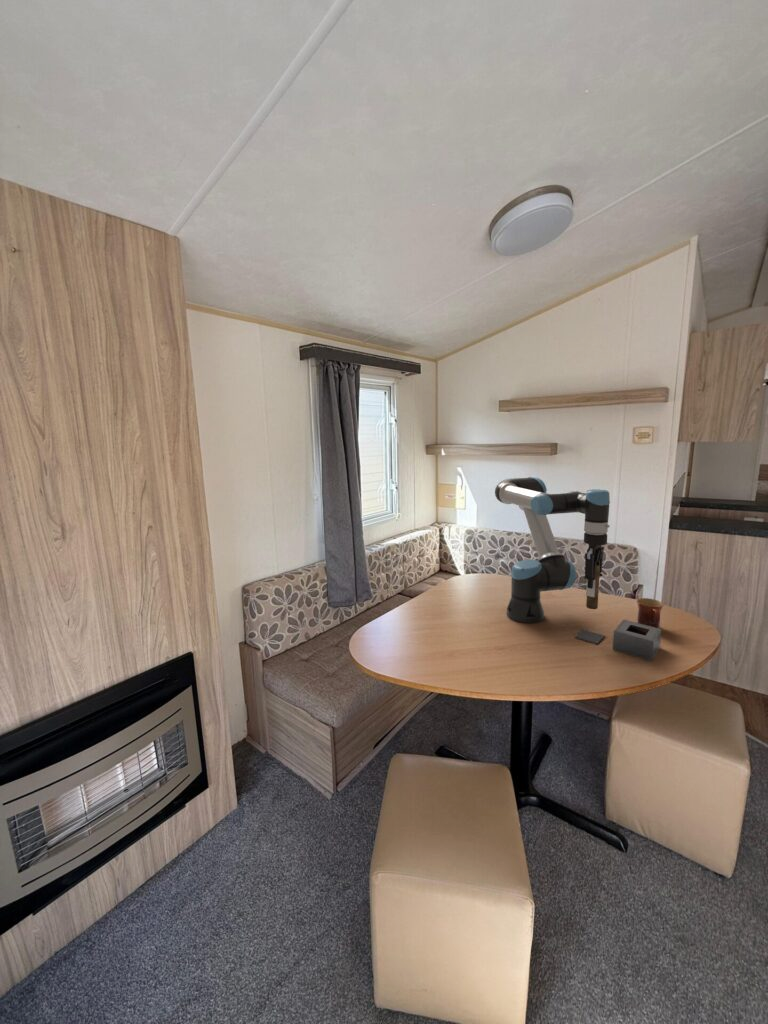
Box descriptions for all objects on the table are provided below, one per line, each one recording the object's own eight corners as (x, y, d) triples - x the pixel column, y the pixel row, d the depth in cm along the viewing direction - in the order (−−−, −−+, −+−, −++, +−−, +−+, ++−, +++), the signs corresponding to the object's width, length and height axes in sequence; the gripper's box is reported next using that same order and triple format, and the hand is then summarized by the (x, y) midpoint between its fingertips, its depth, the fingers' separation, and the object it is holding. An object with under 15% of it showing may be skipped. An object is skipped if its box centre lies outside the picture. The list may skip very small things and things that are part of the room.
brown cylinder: (584, 607, 153) (586, 566, 151) (588, 604, 156) (590, 563, 153) (595, 610, 151) (597, 568, 148) (599, 606, 153) (601, 565, 151)
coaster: (574, 638, 156) (574, 636, 156) (582, 630, 161) (582, 629, 161) (597, 644, 150) (597, 643, 150) (604, 636, 156) (604, 635, 156)
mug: (631, 621, 168) (633, 597, 166) (655, 622, 166) (657, 598, 164) (643, 635, 156) (645, 609, 154) (669, 636, 154) (671, 610, 152)
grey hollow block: (612, 649, 147) (613, 630, 145) (622, 637, 155) (623, 619, 154) (651, 660, 138) (653, 641, 137) (659, 647, 147) (661, 629, 146)
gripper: (599, 538, 140) (595, 603, 144) (614, 529, 152) (610, 590, 156) (576, 535, 145) (573, 598, 149) (592, 527, 157) (589, 585, 161)
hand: (592, 594), depth 153 cm, fingers closed on brown cylinder, 4 cm apart
